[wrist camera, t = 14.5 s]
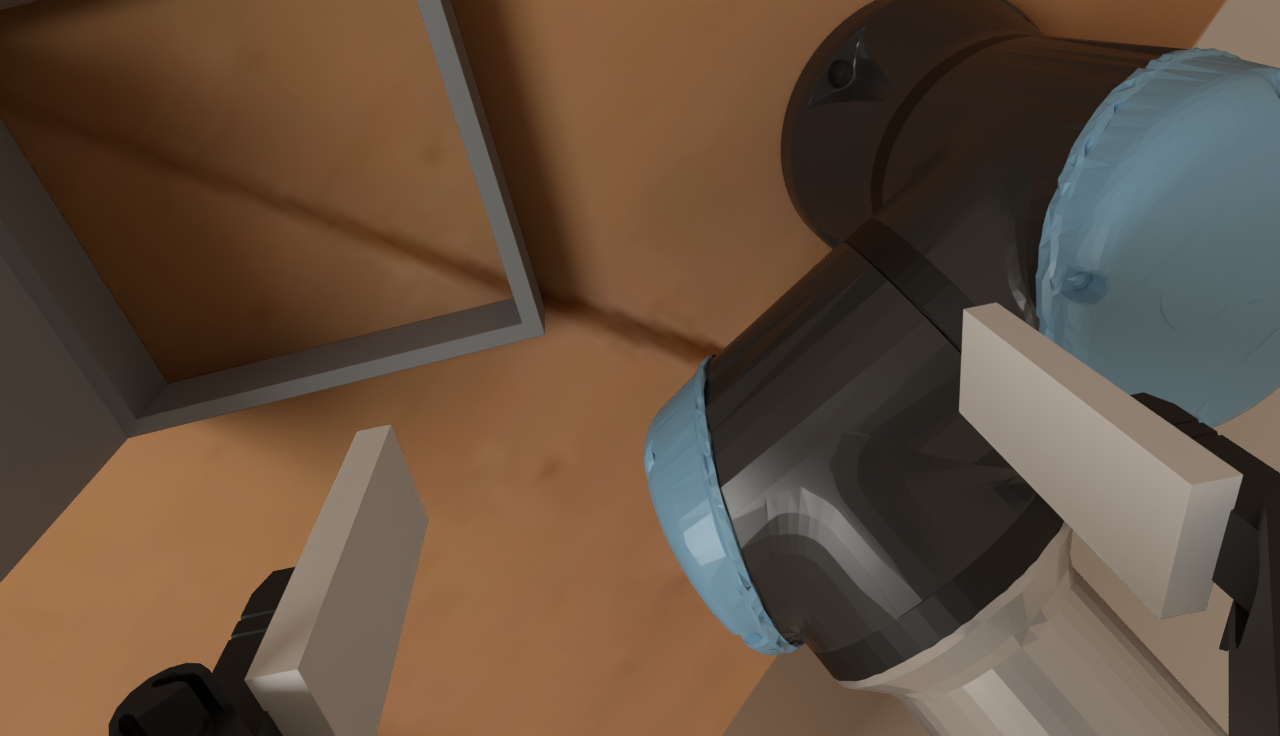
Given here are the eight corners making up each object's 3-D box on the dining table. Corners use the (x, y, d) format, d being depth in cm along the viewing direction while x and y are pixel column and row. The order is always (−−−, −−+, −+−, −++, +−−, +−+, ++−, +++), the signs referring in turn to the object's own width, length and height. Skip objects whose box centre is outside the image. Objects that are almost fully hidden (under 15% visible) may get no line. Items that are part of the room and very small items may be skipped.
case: (414, -118, 33) (228, -258, 13) (544, 306, 44) (549, 582, 24) (-112, 10, 33) (-1099, 63, 13) (147, 404, 44) (-180, 764, 24)
